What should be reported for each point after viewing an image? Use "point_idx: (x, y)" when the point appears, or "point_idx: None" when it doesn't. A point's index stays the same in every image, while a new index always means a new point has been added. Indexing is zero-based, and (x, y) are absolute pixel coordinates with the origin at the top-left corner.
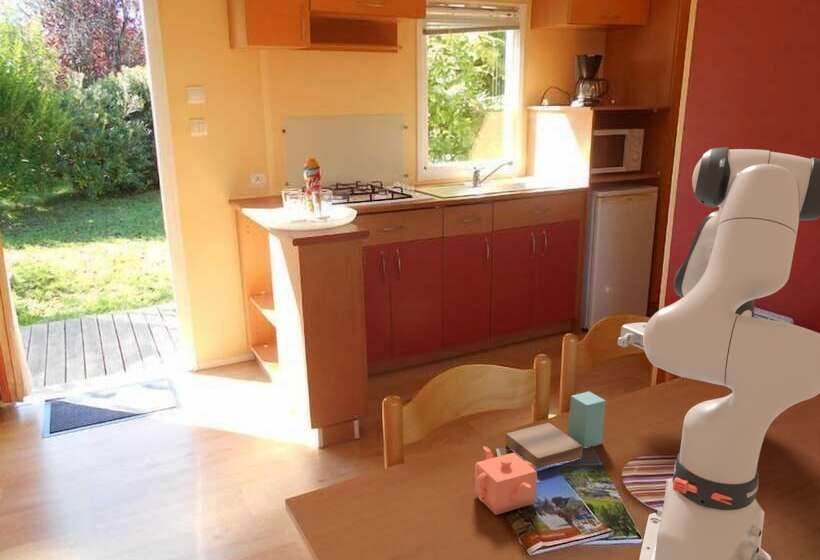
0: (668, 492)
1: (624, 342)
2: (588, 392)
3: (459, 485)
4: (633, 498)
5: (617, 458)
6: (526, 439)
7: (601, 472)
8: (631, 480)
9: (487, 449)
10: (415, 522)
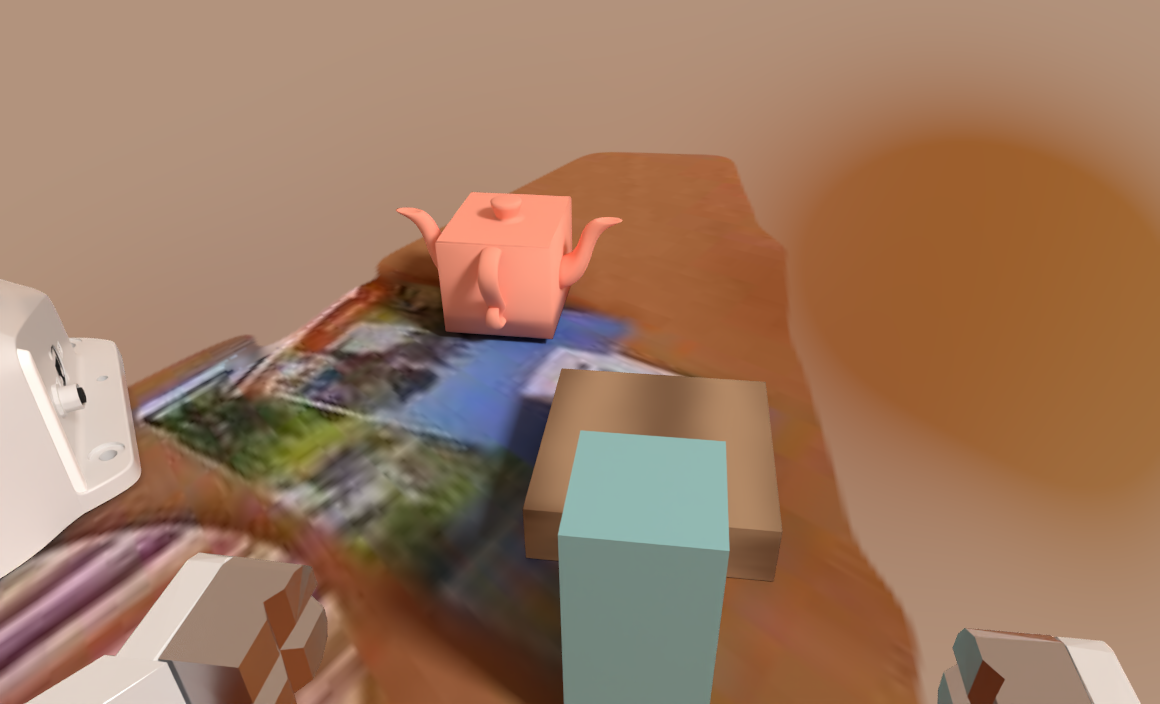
0: (12, 311)
1: (965, 693)
2: (717, 536)
3: (632, 285)
4: (226, 522)
5: (418, 683)
6: (689, 401)
7: (406, 551)
8: None
9: (606, 223)
10: None
